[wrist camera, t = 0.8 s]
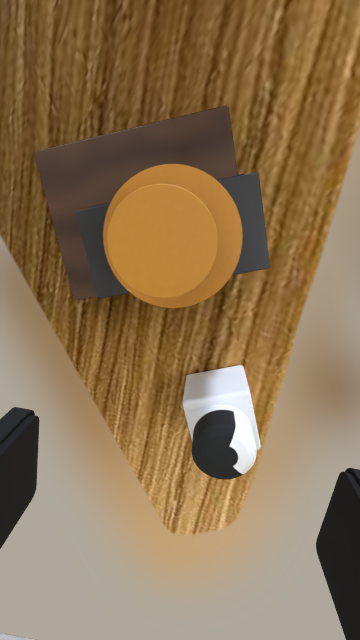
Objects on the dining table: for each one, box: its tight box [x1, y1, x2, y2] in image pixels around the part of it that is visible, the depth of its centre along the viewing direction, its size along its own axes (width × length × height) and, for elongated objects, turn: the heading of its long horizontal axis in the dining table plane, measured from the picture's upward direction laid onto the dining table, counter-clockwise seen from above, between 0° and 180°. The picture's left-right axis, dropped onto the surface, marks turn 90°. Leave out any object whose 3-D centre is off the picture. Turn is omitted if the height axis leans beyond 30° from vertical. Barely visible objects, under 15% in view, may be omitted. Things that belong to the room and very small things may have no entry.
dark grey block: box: [76, 172, 270, 299], centre depth 28 cm, size 6×12×12 cm, turn 101°
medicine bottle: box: [183, 365, 261, 479], centre depth 37 cm, size 7×7×12 cm
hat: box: [103, 164, 243, 308], centre depth 20 cm, size 9×9×6 cm
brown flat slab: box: [34, 105, 238, 300], centre depth 35 cm, size 15×19×4 cm
